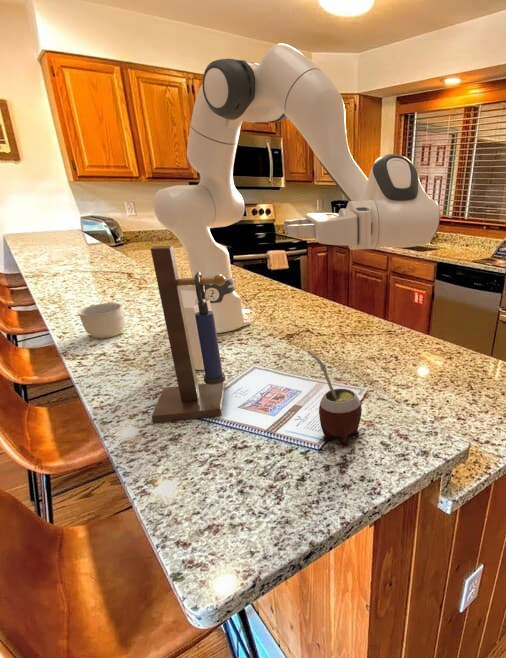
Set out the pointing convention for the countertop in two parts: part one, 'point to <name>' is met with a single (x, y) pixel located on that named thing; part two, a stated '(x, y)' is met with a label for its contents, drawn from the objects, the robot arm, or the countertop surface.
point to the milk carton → (193, 321)
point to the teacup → (103, 319)
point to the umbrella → (208, 338)
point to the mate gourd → (338, 411)
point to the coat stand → (182, 348)
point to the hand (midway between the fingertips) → (285, 227)
